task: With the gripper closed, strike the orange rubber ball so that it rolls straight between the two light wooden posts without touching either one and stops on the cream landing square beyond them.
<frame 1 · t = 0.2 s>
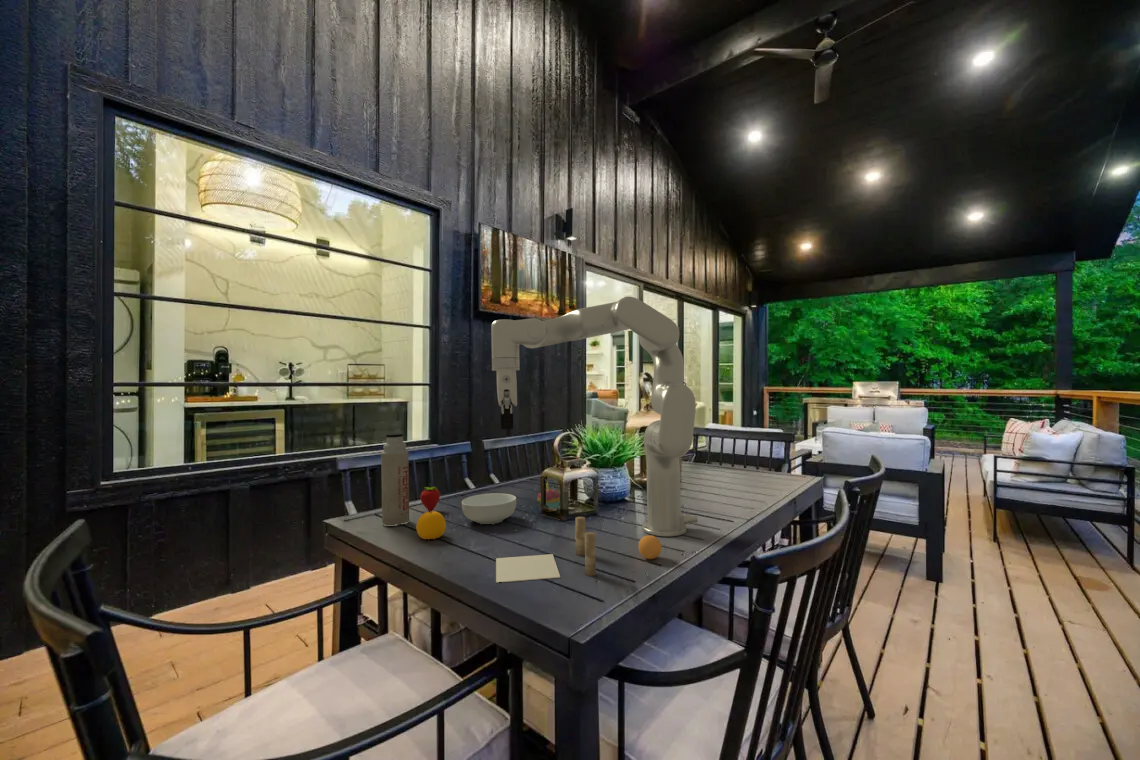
hand: (506, 427, 129), 31 cm above the table, tool pointing down, fingers open, 9 cm apart
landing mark: (526, 567, 110), on the table
orange round fruit: (431, 538, 132), on the table
left post: (590, 573, 106), on the table
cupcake: (550, 511, 159), on the table
thermos bottle: (395, 523, 147), on the table
ball: (649, 547, 114), on the table
cereal bowl: (489, 521, 148), on the table
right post: (580, 554, 118), on the table
strawberry: (430, 512, 159), on the table
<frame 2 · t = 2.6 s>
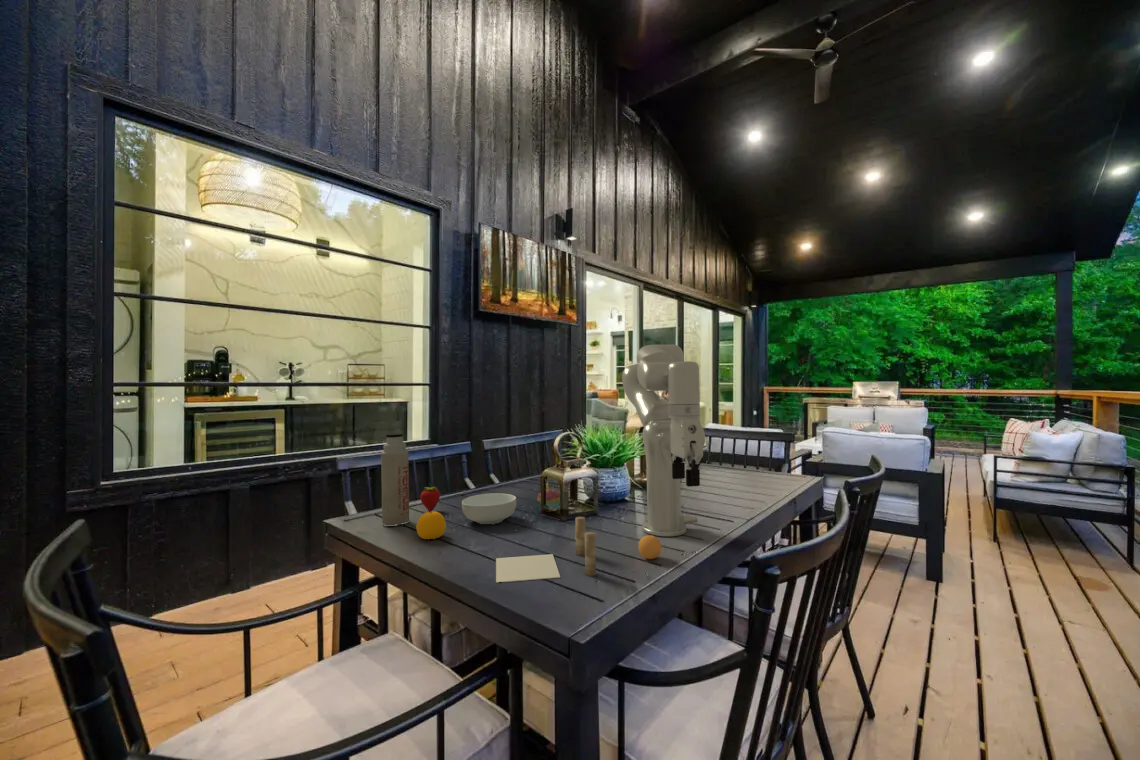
hand: (685, 481, 116), 18 cm above the table, tool pointing down, fingers open, 8 cm apart
nothing on the table moved.
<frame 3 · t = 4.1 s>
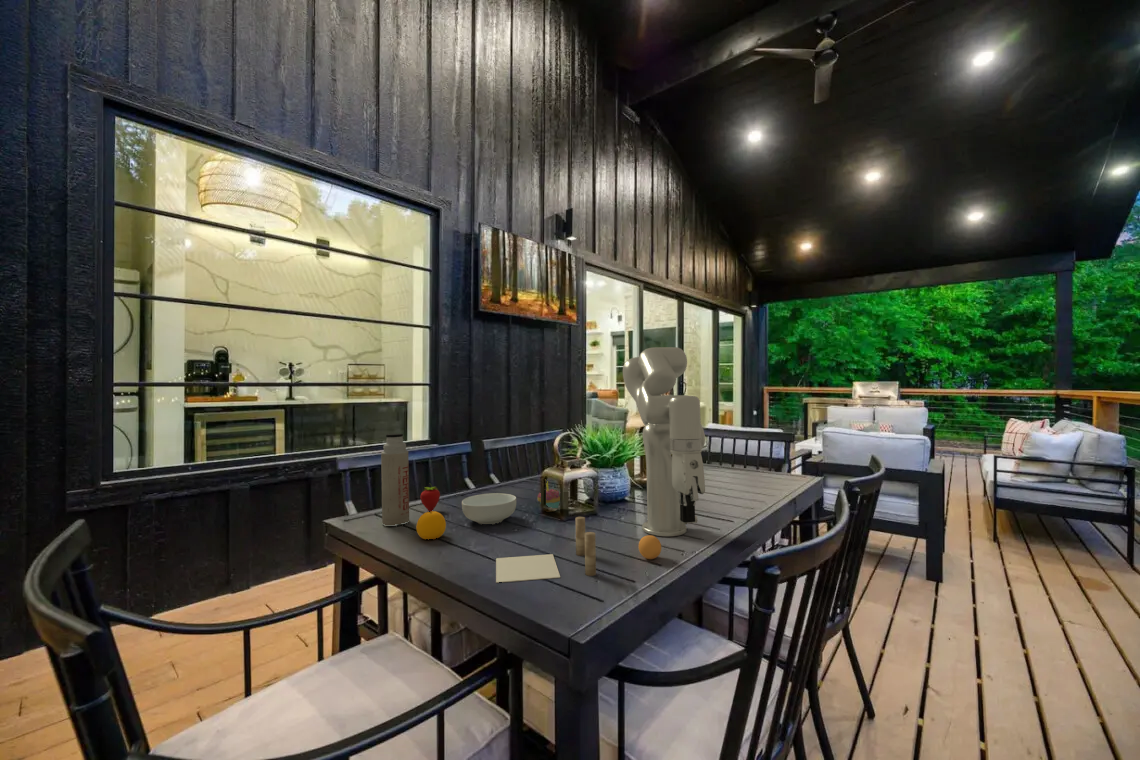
hand: (687, 521, 115), 9 cm above the table, tool pointing down, fingers closed
nothing on the table moved.
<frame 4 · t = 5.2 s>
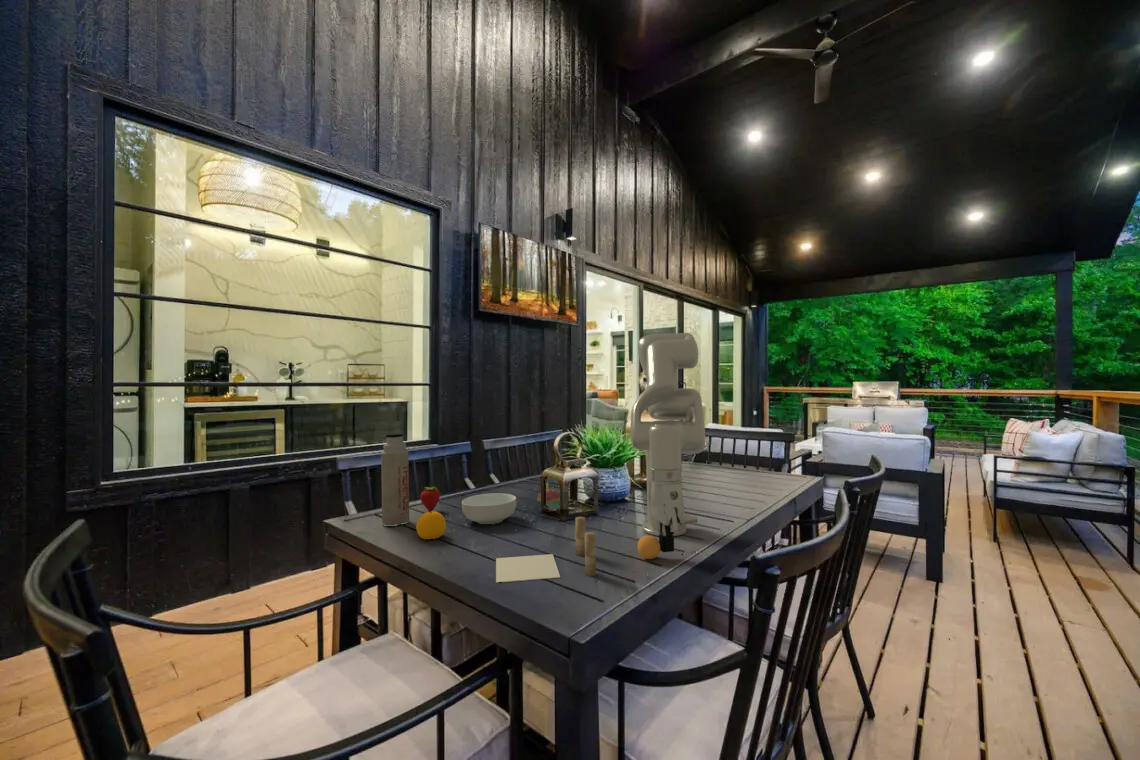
hand: (666, 550, 114), 2 cm above the table, tool pointing down, fingers closed
ball: (648, 547, 114), on the table, touching gripper
everything else where it was.
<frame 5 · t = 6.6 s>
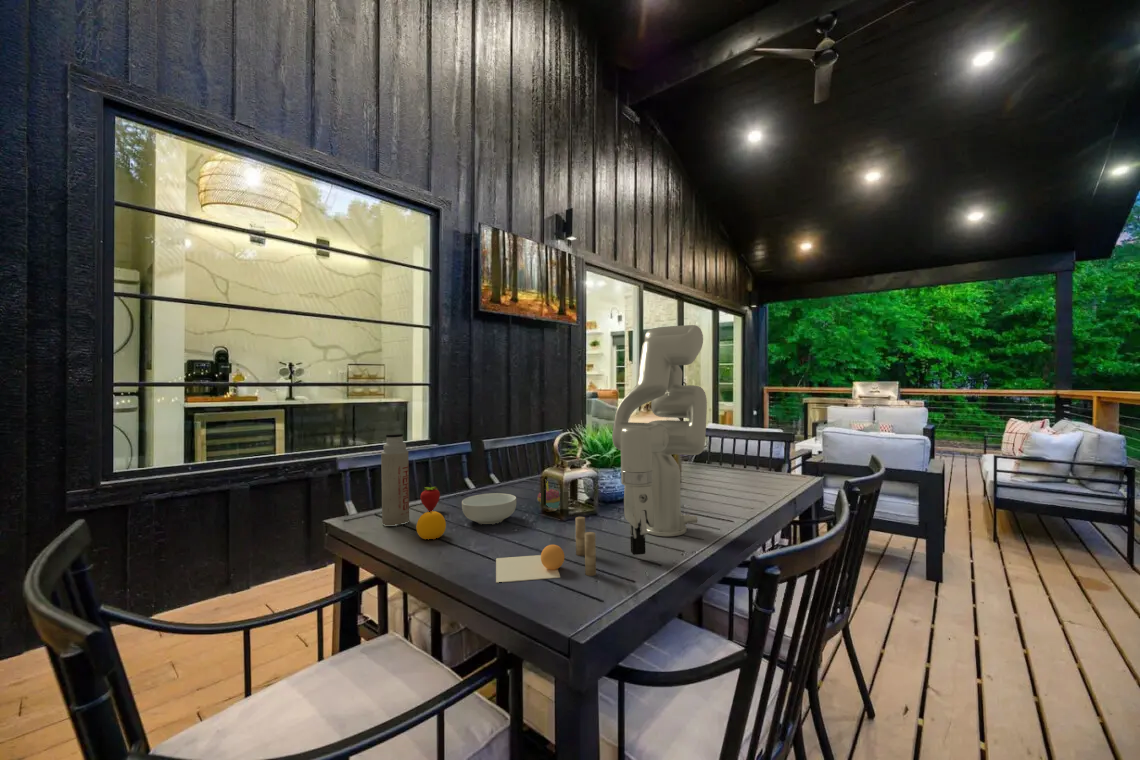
hand: (638, 553, 114), 2 cm above the table, tool pointing down, fingers closed
ball: (552, 557, 109), on the table
everything else where it was.
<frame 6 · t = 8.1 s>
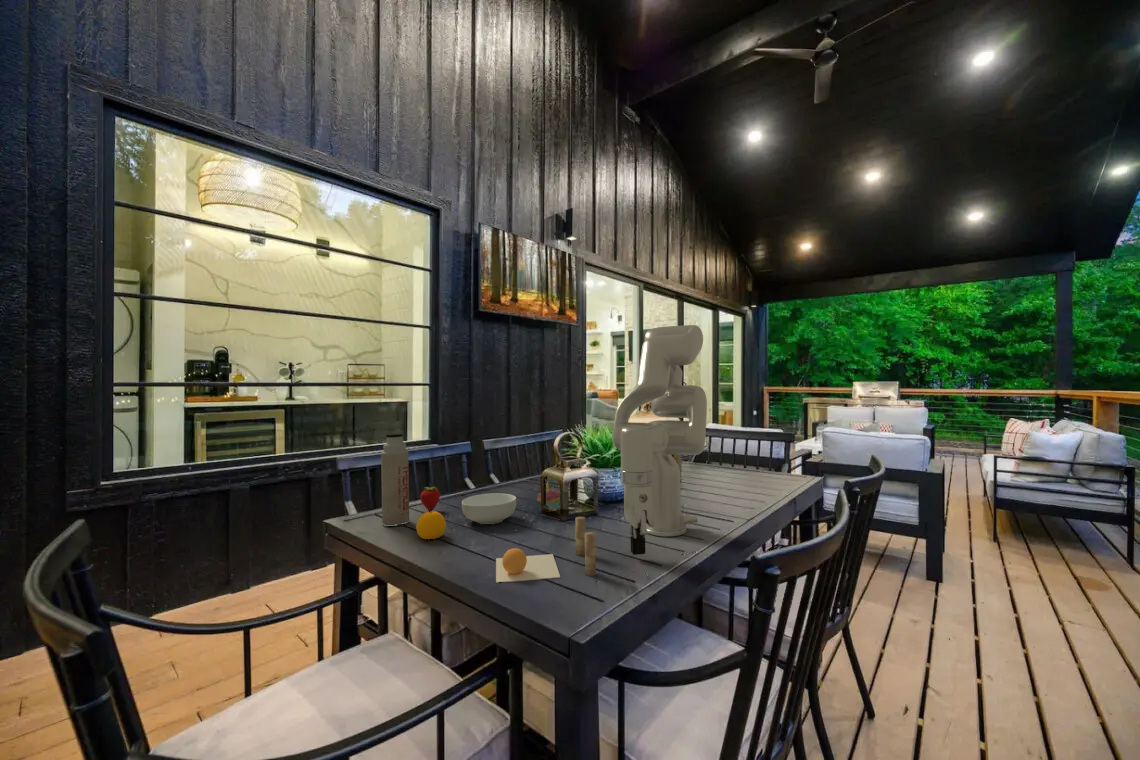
hand: (638, 553, 114), 2 cm above the table, tool pointing down, fingers closed
ball: (514, 561, 107), on the table
everything else where it was.
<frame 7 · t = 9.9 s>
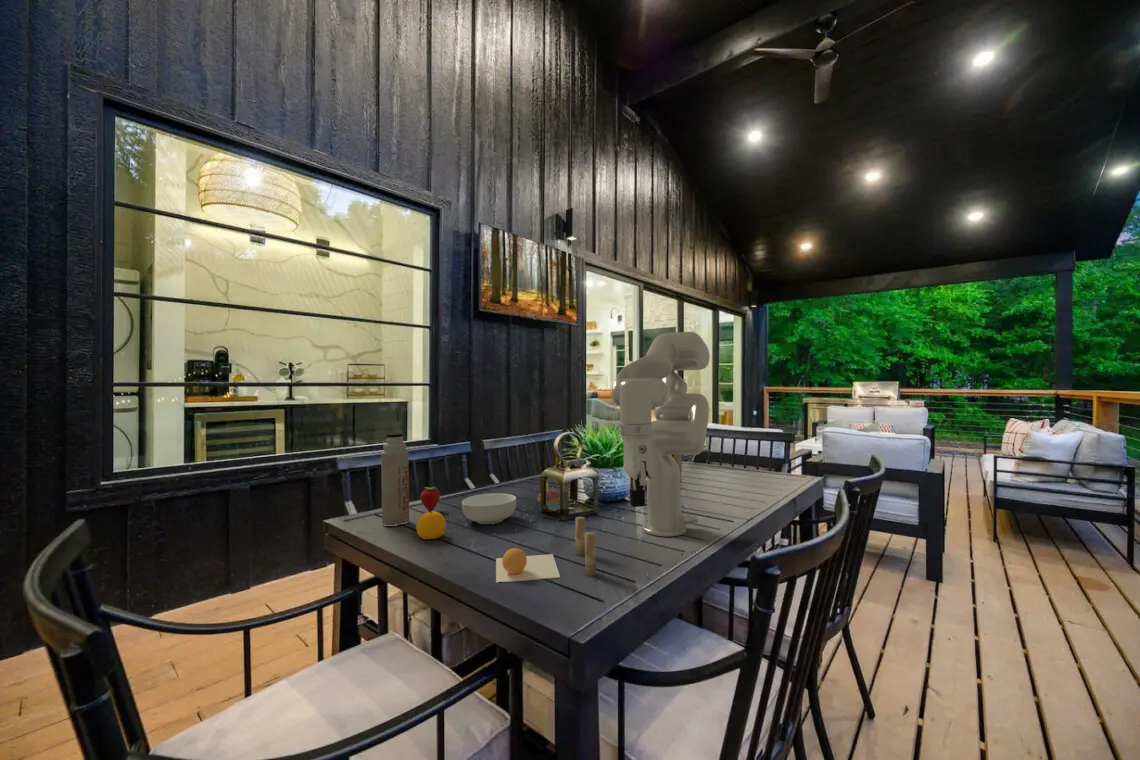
hand: (637, 505, 114), 13 cm above the table, tool pointing down, fingers closed
nothing on the table moved.
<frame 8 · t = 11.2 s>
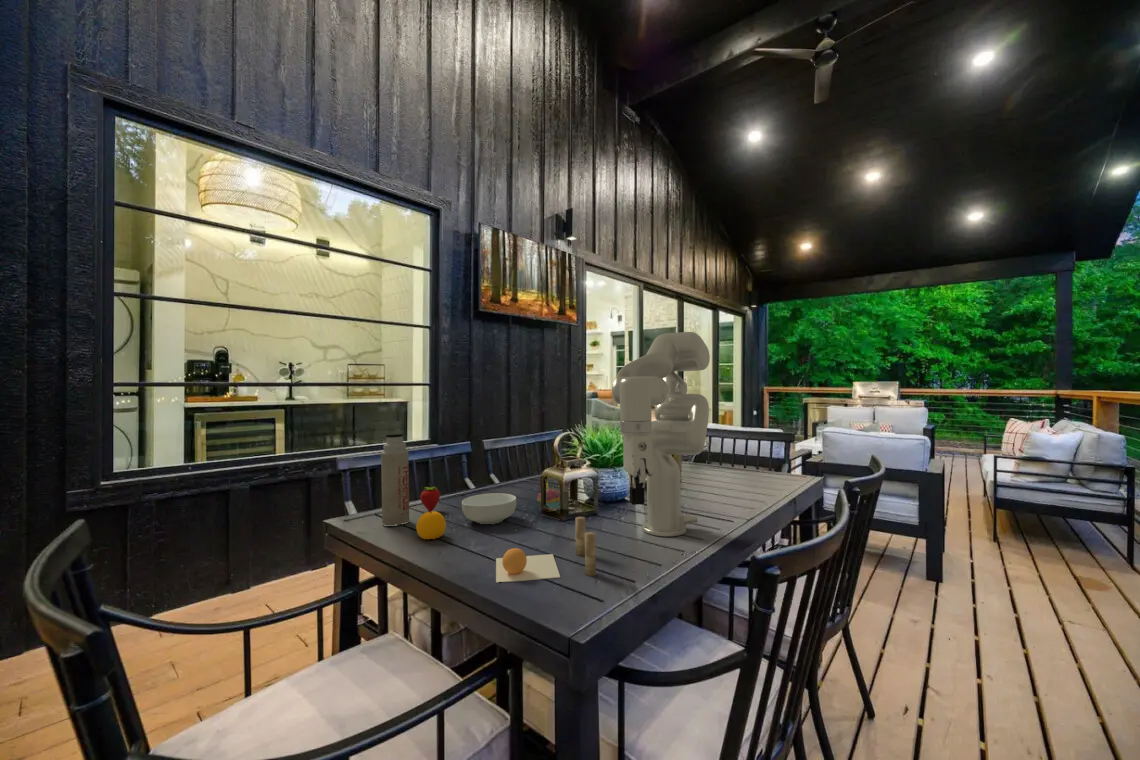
hand: (637, 503, 114), 14 cm above the table, tool pointing down, fingers closed
nothing on the table moved.
at the end: ball 3.8 cm from the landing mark (horizontally); ball never touched left post; ball never touched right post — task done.
